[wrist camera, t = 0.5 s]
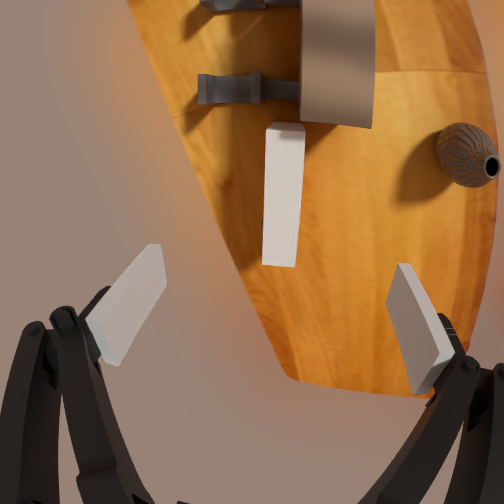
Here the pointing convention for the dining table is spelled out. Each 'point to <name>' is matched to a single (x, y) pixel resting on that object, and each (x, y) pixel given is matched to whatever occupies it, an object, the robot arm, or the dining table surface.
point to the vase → (467, 155)
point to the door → (282, 192)
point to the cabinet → (312, 63)
